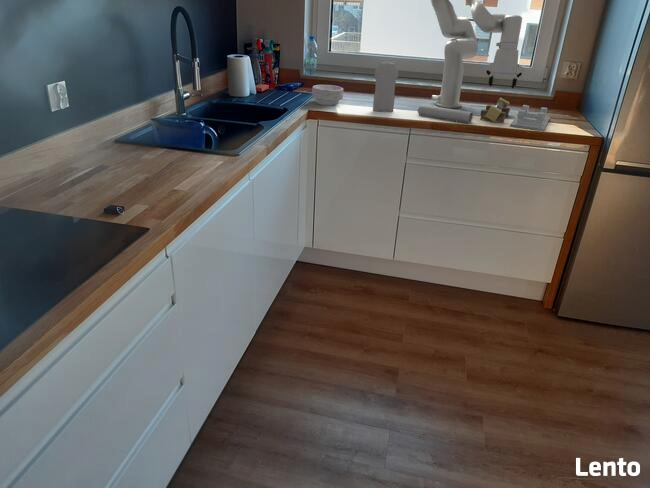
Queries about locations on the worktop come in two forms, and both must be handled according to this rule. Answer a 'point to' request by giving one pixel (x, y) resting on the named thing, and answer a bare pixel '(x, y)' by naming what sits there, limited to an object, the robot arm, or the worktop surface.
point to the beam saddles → (500, 117)
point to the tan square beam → (496, 109)
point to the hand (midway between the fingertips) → (501, 86)
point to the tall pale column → (385, 87)
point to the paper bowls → (327, 94)
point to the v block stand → (531, 119)
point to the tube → (445, 113)
